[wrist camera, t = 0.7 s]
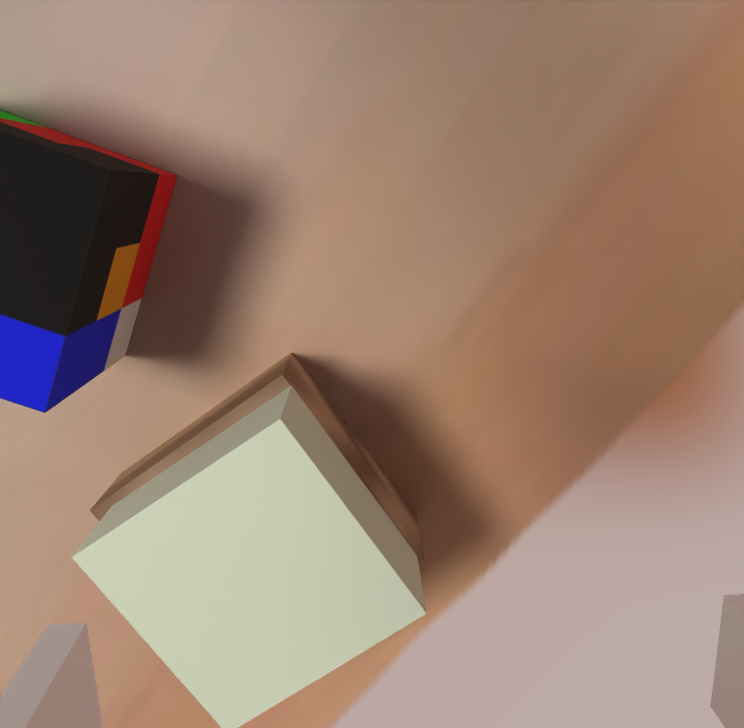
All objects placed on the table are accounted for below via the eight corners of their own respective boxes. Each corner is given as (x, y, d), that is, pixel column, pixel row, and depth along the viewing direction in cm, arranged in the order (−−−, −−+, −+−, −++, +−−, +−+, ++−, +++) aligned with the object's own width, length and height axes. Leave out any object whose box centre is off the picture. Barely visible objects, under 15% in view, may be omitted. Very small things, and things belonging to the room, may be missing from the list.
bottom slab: (122, 471, 40) (89, 510, 35) (291, 351, 38) (282, 374, 33) (252, 621, 42) (238, 677, 37) (416, 514, 41) (424, 558, 36)
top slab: (111, 505, 35) (71, 557, 30) (291, 385, 33) (280, 418, 28) (244, 662, 37) (227, 733, 32) (417, 555, 36) (426, 613, 31)
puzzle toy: (125, 355, 38) (44, 412, 28) (-60, 292, 37) (-211, 329, 27) (177, 175, 35) (109, 169, 26) (-18, 103, 34) (-166, 69, 25)
